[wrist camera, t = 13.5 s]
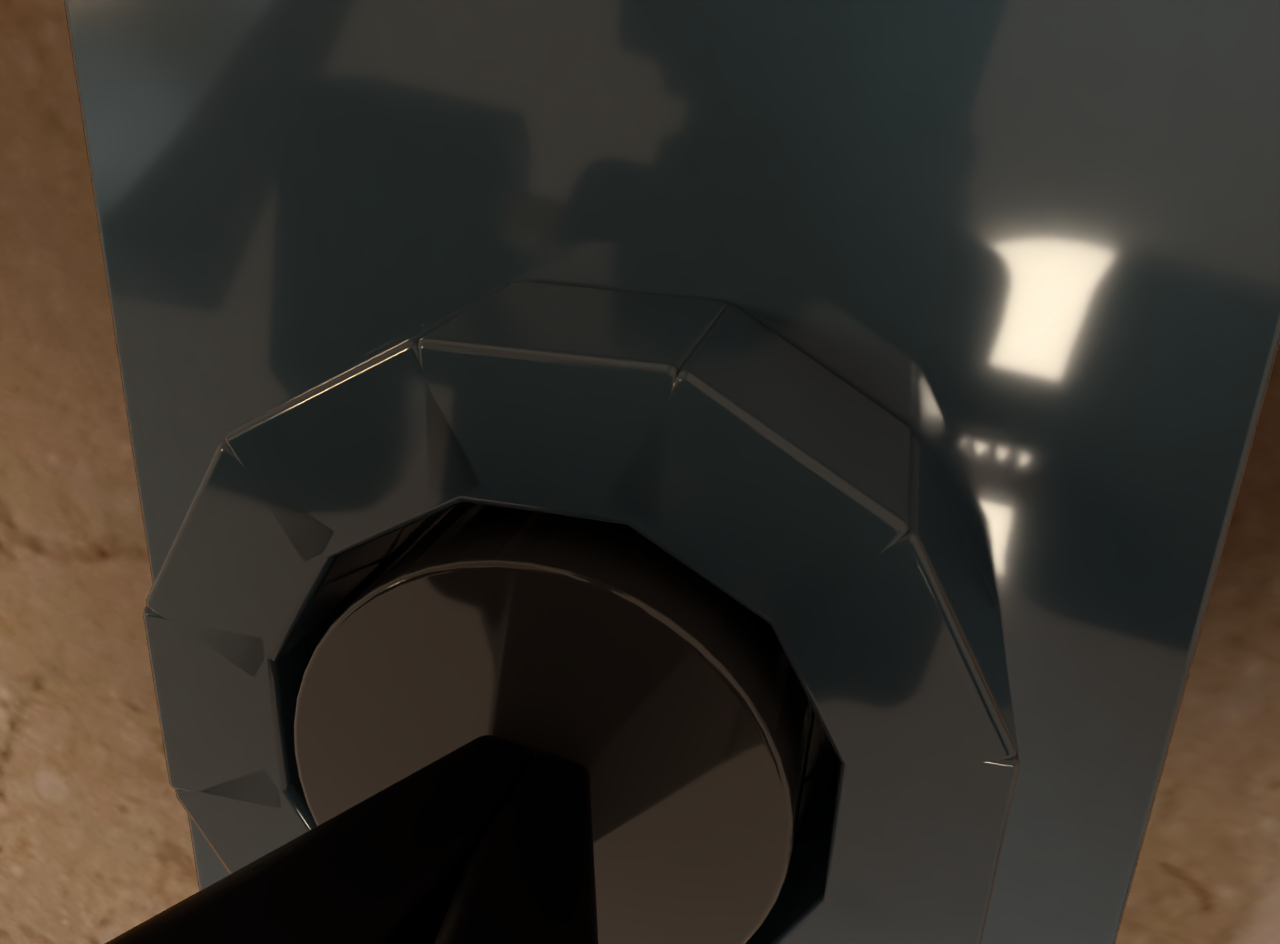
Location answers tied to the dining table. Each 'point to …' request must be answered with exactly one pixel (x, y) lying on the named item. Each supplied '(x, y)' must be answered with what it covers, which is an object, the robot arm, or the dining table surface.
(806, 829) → the knob base
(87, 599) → the dining table surface
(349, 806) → the dark rotary knob
